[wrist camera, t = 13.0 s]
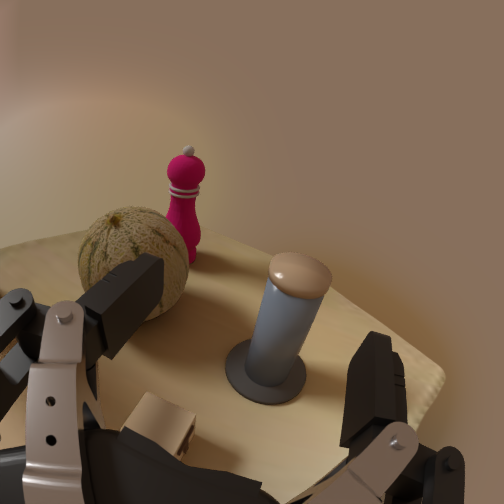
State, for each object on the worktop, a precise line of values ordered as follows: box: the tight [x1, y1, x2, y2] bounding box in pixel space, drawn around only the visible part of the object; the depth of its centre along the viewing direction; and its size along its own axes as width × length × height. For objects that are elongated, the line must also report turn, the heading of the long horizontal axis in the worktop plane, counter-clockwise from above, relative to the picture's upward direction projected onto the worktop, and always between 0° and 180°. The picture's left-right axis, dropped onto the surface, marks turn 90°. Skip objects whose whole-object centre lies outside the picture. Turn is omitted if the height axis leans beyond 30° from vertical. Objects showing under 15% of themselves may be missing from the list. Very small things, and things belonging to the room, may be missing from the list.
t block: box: [119, 391, 196, 461], centre depth 22 cm, size 5×5×5 cm
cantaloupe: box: [78, 206, 189, 321], centre depth 35 cm, size 15×15×15 cm
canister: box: [244, 252, 332, 387], centre depth 30 cm, size 6×6×15 cm
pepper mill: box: [166, 146, 205, 264], centre depth 47 cm, size 7×7×20 cm
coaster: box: [225, 339, 306, 405], centre depth 34 cm, size 10×10×1 cm
